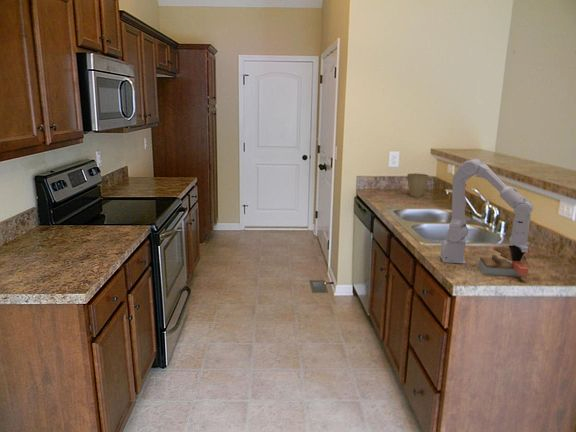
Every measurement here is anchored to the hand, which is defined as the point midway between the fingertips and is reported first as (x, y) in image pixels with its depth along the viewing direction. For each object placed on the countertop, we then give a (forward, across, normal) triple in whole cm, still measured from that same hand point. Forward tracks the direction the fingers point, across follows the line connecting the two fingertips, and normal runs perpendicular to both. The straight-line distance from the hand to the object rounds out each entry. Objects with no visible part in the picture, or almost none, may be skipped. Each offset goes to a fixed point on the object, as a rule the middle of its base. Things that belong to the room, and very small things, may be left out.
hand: (515, 264), depth 182 cm
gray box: (+4, +1, +6) cm, 7 cm away
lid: (+1, +1, +7) cm, 7 cm away
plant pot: (+4, +156, +17) cm, 157 cm away
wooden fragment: (+4, +24, -7) cm, 25 cm away
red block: (+1, -5, 0) cm, 5 cm away
